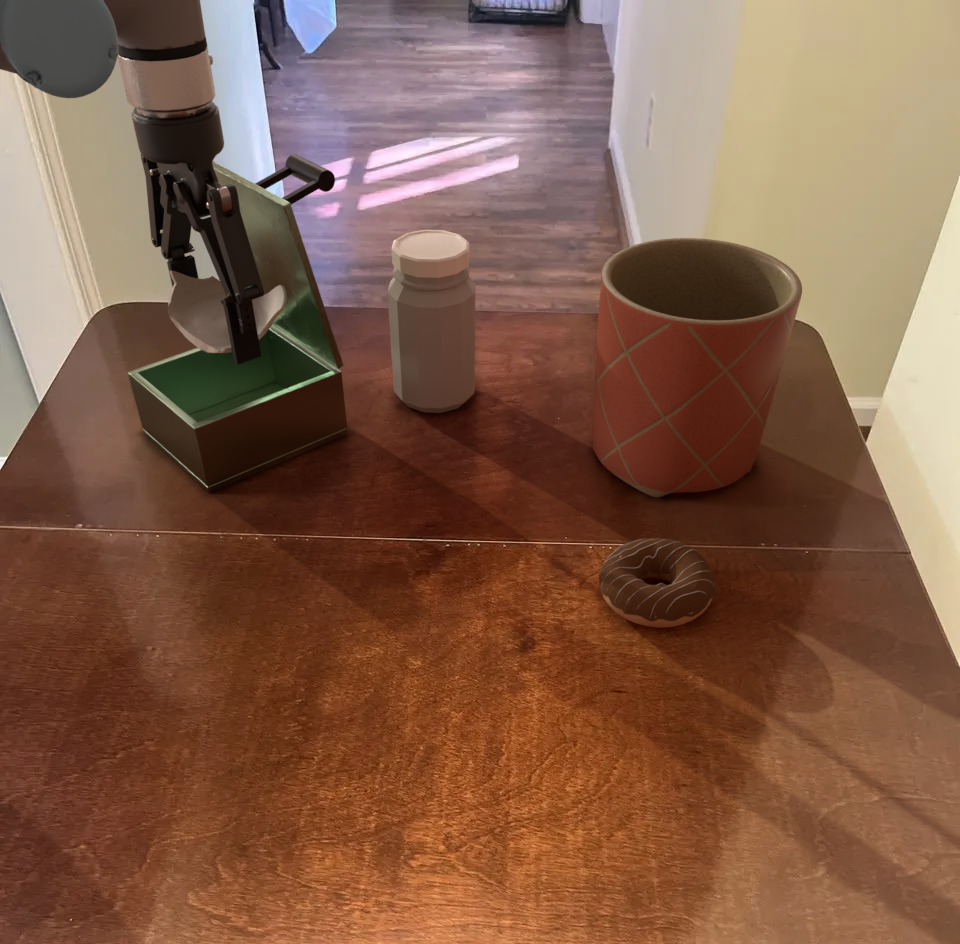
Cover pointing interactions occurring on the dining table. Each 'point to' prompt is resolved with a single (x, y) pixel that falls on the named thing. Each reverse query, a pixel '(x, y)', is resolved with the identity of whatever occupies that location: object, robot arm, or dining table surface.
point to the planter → (688, 361)
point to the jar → (432, 320)
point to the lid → (286, 251)
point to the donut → (658, 602)
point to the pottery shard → (215, 311)
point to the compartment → (239, 408)
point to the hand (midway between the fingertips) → (219, 338)
